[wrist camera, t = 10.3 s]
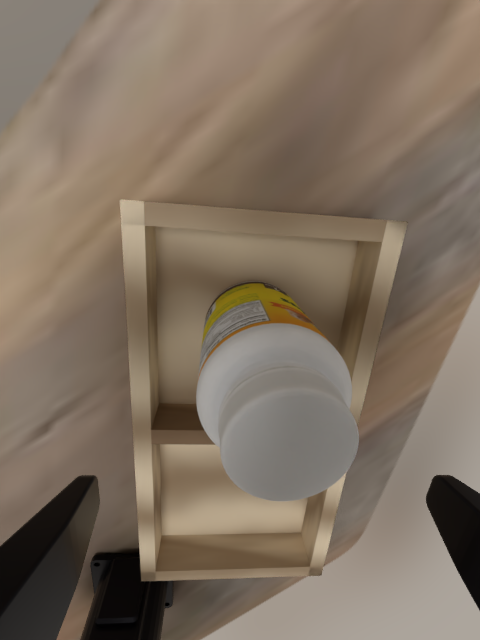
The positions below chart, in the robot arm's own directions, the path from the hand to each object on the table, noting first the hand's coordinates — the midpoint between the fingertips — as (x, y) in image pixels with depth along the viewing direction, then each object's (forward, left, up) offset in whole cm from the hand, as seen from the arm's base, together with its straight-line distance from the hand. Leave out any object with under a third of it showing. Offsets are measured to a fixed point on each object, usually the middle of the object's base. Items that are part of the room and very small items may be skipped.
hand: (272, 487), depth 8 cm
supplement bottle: (+1, -1, -11) cm, 11 cm away
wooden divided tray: (-6, -1, -12) cm, 13 cm away
